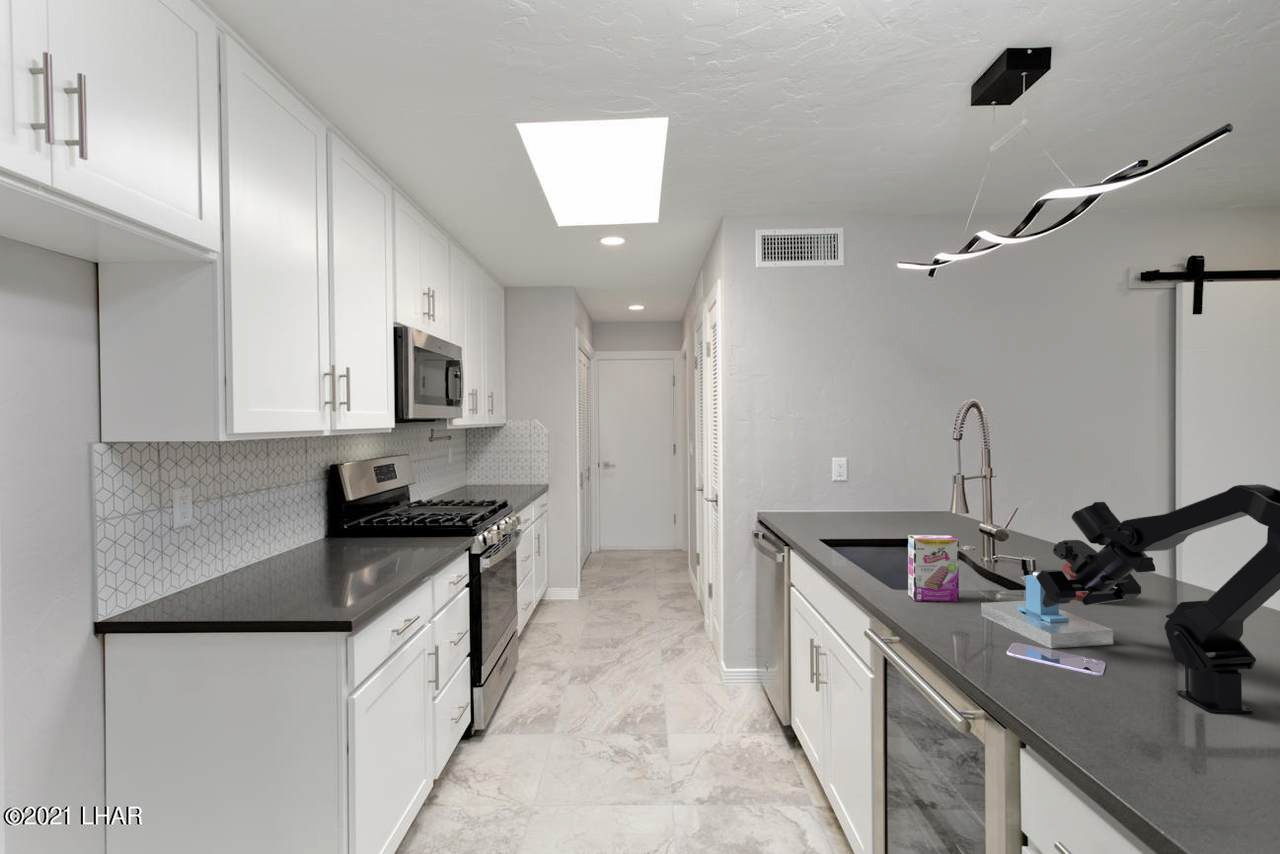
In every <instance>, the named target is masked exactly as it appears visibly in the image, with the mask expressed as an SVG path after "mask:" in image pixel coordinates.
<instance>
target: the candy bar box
mask: <svg viewBox="0 0 1280 854" xmlns="http://www.w3.org/2000/svg"><path fill="white" fill-rule="evenodd" d="M959 541H960V540H959V539H958V538H956V537H954V536H952V535H938V534H937V535H936V534H935V535H934V534H933V535H932V534H930V535H929V534H927V535H925V534H921V535H920V534H918V535H917V534H908V535H907V564H908V565H907V567H908V568H907V595H908V597H909V598H910V597H911V598H910V599H912V601H914V602H936V601H940V602H944V603H945V602H946V603H947V602H949V603H952V602H953V603H959V597H960V595H959V593H960V592H959V591H960V590H959V589H960V586H959V584H960V583H959V581H960V579H959V577H960V576H959V575H960V572H959V571H960V570H959V569H960V568H959V566H960V565H959V564H960V562H959V561H960V559H959V556H960V549H959V547H960V544H959V543H960V542H959Z"/></svg>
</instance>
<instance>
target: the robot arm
mask: <svg viewBox="0 0 1280 854" xmlns="http://www.w3.org/2000/svg"><path fill="white" fill-rule="evenodd" d="M1246 516H1249V517H1250V518H1252V519H1253V520H1254V521H1256V522H1257V523H1258V524H1261V525H1264V526H1265V527H1267V535H1266V536H1267V538H1266V543H1265V544H1264V546H1263V547H1261V548H1260V549H1259V551H1257V553H1256V554H1254V555H1253V556H1252V557H1251V558H1250V559H1249V560H1248V561H1247V562H1246V563H1245V564H1243V566H1242V567H1241V568H1240V569H1239V570H1238V571H1237V572H1236V573H1234V574H1233V575H1232V577H1230V578H1229V579H1228V580H1227V581H1226V582H1225V583H1224V584H1223V585H1222V586H1221V587H1219V589H1218V590H1217V591H1216V592H1214V593H1213V594H1212V595H1211V596H1210V597H1209V598H1208V599H1207V600H1193V601H1190V600H1189V601H1181V602H1180V603H1178V604H1177V606H1176V607H1175V609H1174V610H1173V612H1171V613H1169V614H1167V615H1165V618H1167V621H1166V622H1165V624H1164V628H1163V629H1164V631H1165V635H1166V638H1167V641H1168V644H1169V645H1170V646H1169V647H1170V649H1171V652H1172V655H1173V658H1174V661H1175V662H1176V663H1179V664H1181V665H1183V666H1184V676H1185V680H1184V681H1185V682H1184V683H1185V685H1184V686H1185V687H1184V689H1185V690H1183V689H1179V690H1178V689H1177V690H1176V695H1178V696H1180V697H1182V698H1184V699H1185V700H1187V701H1189V702H1191V703H1193V705H1196V706H1198V707H1200V708H1202V709H1204V710H1205V711H1207V712H1209V713H1227V714H1228V713H1230V714H1231V713H1232V714H1253V713H1254V711H1253V709H1252V708H1250V707H1248V706H1246V705H1244V704H1243V692H1242V691H1243V686H1242V684H1243V683H1242V673H1241V672H1239V671H1240V670H1247V671H1248V670H1252V669H1253V668H1254V665H1255V663H1256V662H1257V658H1256V657H1255V656H1254V655H1253V653H1252V652H1251V651H1250V650H1249V649H1248V647H1246V645H1245V644H1244V643H1243V642H1242V641H1241V640H1240V639H1241V638H1242V636H1243V634H1244V622H1245V621H1246V620H1247V618H1249V617H1250V616H1251V615H1252V614H1254V613H1255V612H1256V611H1257V610H1258V609H1259V608H1260V607H1262V605H1264V604H1265V603H1266V602H1267V601H1268V600H1270V599H1271V597H1273V596H1274V595H1275V594H1276V593H1278V591H1280V489H1277V488H1274V487H1271V486H1269V485H1266V484H1259V483H1258V484H1237V485H1234V486H1232V487H1230V488H1228V489H1227V490H1225V491H1223V492H1219V493H1218V494H1214V495H1212V496H1210V497H1206V498H1204V499H1201V500H1199V501H1196V502H1194V503H1190V504H1187V505H1185V506H1183V507H1180V508H1177V509H1175V510H1172V511H1170V512H1166V513H1163V514H1158V515H1149V516H1142V517H1135V518H1132V519H1131V518H1130V519H1125V520H1122V522H1120V520H1119V519H1118V517H1117V516H1116V515H1115V514H1114V513H1113V512H1112V511H1111V508H1110V507H1109V505H1107V503H1106V502H1105V501H1094V502H1093V503H1092V504H1091V505H1088V506H1085V507H1083V508H1081V509H1078V510H1076V511H1074V512H1073V514H1071V520H1072V521H1073V523H1074V524H1075V525H1076V526H1077V528H1078V529H1079V530H1080V532H1081V533H1082V534H1083V535H1084V536H1085V538H1086V539H1087V541H1088V542H1089V543H1091V544H1098V545H1099V546H1103V547H1102V548H1101V549H1100V550H1099V551H1097V550H1096V549H1095V548H1093V547H1091V546H1090V545H1088V544H1087V543H1086V542H1084V541H1083V540H1080V539H1065V540H1062V541H1058V542H1057V544H1054V546H1053V549H1052V552H1053V553H1052V554H1054V555H1055V556H1056V557H1057V558H1059V559H1060V560H1065V561H1066V563H1067V562H1069V563H1070V564H1071V566H1070V567H1069V568H1070V570H1071V571H1072V572H1073V573H1075V574H1076V575H1075V577H1076V579H1074V580H1070V579H1068V577H1067V576H1066V575H1065V574H1066V573H1064V572H1063V570H1060V569H1043V570H1041V571H1039V573H1038V574H1037V576H1036V578H1037V580H1038V581H1039V583H1040V584H1041V586H1042V588H1043V589H1044V591H1045V595H1044V598H1043V602H1042V604H1043V605H1044V607H1045V608H1048V607H1053V606H1057V605H1059V606H1061V605H1065V604H1070V603H1071V601H1073V600H1074V598H1076V592H1088V594H1087V595H1086V596H1085V597H1084V598H1083V600H1082V601H1081V602H1082V604H1083V605H1084V606H1090V605H1099V604H1098V603H1101V604H1103V603H1110V602H1116V601H1123V600H1129V599H1135V598H1137V597H1138V596H1140V595H1142V586H1141V585H1140V583H1139V582H1138V581H1137V580H1136V579H1135V578H1134V576H1133V575H1132V574H1131V573H1132V572H1133V571H1135V572H1136V573H1153V572H1154V573H1155V572H1156V571H1157V570H1156V565H1155V563H1154V558H1153V557H1151V556H1148V555H1147V554H1146V552H1159V551H1160V552H1163V551H1169V550H1171V549H1173V548H1175V547H1176V546H1178V545H1180V544H1182V543H1184V542H1185V541H1186V539H1187V538H1188V537H1190V536H1191V535H1193V534H1195V533H1197V532H1201V531H1203V530H1207V529H1211V528H1213V527H1216V526H1220V525H1222V524H1224V523H1228V522H1232V521H1234V520H1237V519H1240V518H1244V517H1246ZM1208 653H1209V654H1208ZM1210 653H1214V654H1210Z"/></svg>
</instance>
